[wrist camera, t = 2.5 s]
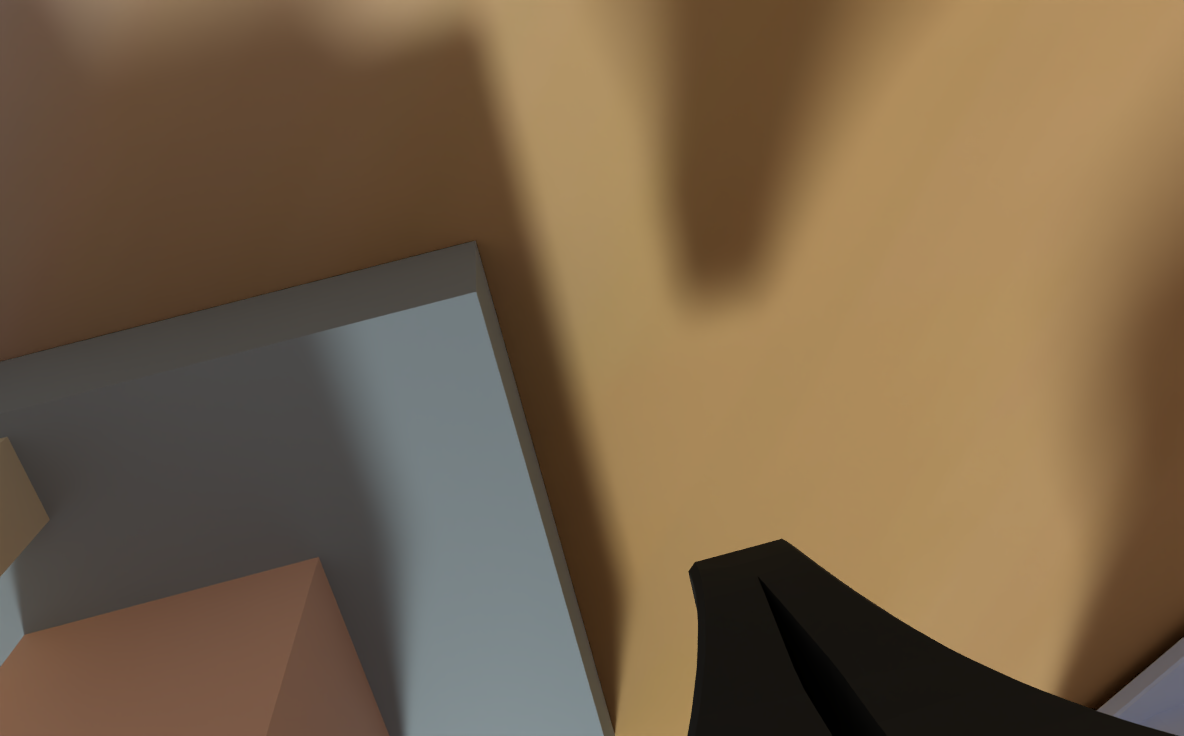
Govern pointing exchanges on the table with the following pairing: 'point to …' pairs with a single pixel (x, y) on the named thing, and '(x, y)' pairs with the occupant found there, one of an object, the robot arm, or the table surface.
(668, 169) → the table surface
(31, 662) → the terracotta block
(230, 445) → the deck
